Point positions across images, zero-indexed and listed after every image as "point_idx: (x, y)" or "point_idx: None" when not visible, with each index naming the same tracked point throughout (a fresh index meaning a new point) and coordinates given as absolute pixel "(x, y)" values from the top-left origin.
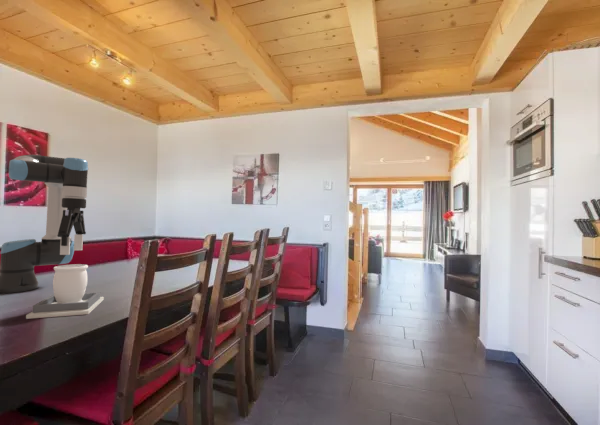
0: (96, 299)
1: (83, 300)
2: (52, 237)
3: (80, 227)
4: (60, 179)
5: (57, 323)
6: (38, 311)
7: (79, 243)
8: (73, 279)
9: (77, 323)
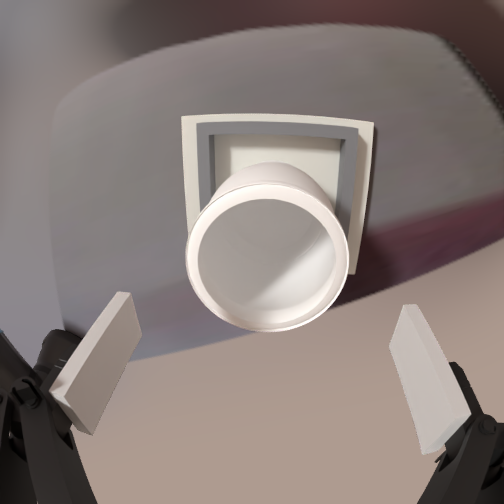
0: (251, 121)
1: (223, 170)
2: None
3: (69, 487)
4: None
5: (426, 185)
6: None
7: (109, 346)
8: (333, 212)
9: (443, 138)
